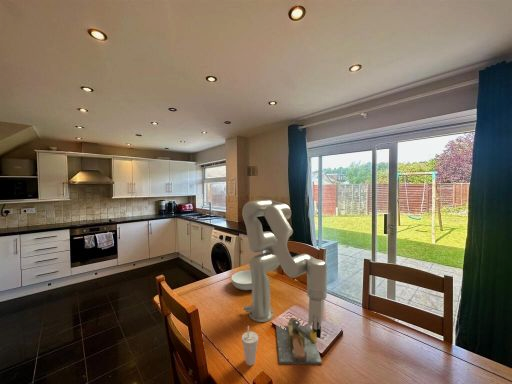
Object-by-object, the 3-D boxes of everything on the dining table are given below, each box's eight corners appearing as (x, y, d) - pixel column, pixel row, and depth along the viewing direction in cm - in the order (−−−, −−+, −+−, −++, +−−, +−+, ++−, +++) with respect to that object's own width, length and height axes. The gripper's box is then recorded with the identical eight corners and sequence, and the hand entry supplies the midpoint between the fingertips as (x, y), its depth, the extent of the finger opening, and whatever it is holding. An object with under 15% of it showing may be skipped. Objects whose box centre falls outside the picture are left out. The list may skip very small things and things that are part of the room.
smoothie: (242, 355, 83) (241, 321, 83) (258, 354, 84) (257, 320, 83) (242, 369, 77) (241, 332, 77) (259, 367, 78) (258, 331, 77)
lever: (291, 328, 89) (290, 318, 89) (296, 326, 91) (296, 315, 90) (313, 347, 79) (312, 335, 79) (318, 343, 80) (318, 331, 80)
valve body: (279, 363, 79) (279, 348, 79) (276, 327, 99) (275, 315, 99) (321, 364, 78) (321, 348, 78) (309, 327, 98) (309, 315, 98)
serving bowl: (235, 278, 152) (235, 269, 152) (264, 280, 149) (263, 270, 149) (227, 293, 132) (227, 282, 132) (260, 295, 129) (260, 284, 129)
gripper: (309, 281, 91) (309, 322, 92) (304, 299, 77) (304, 347, 78) (327, 284, 89) (327, 326, 89) (325, 303, 75) (325, 352, 75)
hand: (316, 335), depth 84 cm, fingers closed
